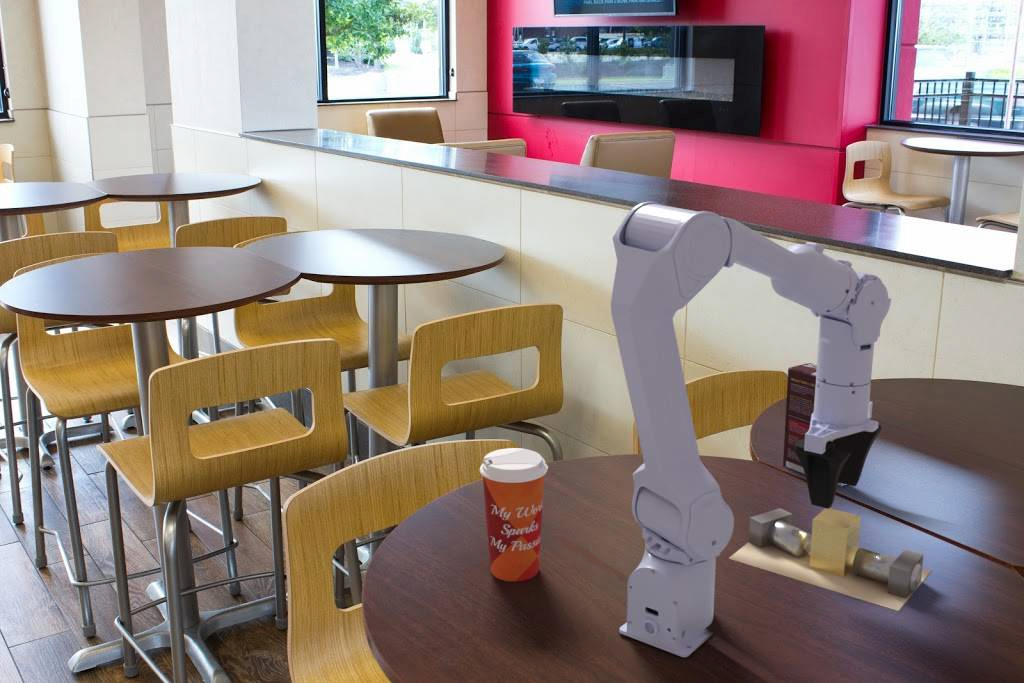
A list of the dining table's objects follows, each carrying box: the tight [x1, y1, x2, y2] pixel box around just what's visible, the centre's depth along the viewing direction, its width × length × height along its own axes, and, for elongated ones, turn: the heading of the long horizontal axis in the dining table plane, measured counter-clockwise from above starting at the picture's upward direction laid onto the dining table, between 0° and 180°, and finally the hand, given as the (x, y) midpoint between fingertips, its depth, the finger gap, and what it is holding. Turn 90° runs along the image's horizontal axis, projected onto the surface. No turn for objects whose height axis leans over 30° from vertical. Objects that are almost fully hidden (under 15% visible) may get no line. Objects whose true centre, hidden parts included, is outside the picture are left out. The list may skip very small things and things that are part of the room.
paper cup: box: [479, 447, 549, 583], centre depth 117 cm, size 8×8×14 cm
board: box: [727, 507, 932, 612], centre depth 117 cm, size 11×20×4 cm, turn 51°
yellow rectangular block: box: [809, 507, 862, 578], centre depth 116 cm, size 4×4×6 cm
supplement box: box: [782, 362, 842, 486], centre depth 142 cm, size 9×5×16 cm, turn 34°
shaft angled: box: [768, 520, 812, 558], centre depth 121 cm, size 6×3×3 cm, turn 31°
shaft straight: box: [853, 547, 921, 592], centre depth 113 cm, size 6×3×3 cm, turn 51°
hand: (834, 494), depth 115 cm, fingers open, 7 cm apart
